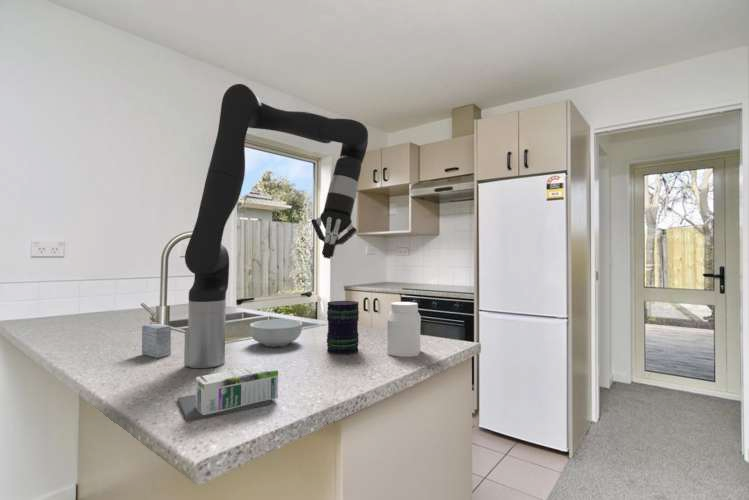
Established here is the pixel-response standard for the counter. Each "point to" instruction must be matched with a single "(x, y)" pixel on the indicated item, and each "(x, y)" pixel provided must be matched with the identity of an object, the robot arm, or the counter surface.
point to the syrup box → (235, 389)
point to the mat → (193, 414)
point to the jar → (404, 330)
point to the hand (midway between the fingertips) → (326, 258)
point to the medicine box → (156, 340)
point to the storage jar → (342, 327)
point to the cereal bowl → (275, 331)
